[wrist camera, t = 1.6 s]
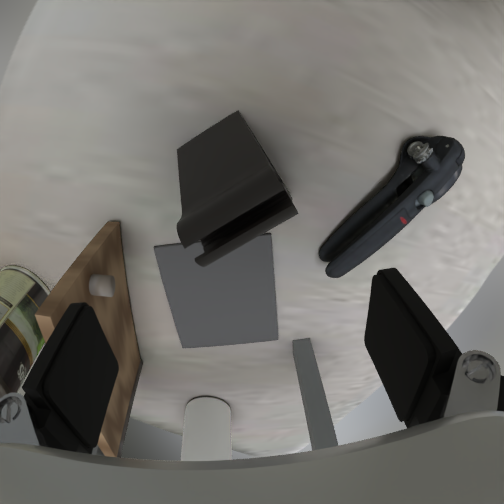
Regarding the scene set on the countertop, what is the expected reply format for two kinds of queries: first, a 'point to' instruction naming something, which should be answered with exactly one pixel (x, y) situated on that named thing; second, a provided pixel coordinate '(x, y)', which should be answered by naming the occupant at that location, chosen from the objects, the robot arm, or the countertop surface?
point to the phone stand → (228, 190)
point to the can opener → (395, 202)
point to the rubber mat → (221, 294)
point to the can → (207, 430)
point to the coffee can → (19, 325)
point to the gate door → (102, 322)
